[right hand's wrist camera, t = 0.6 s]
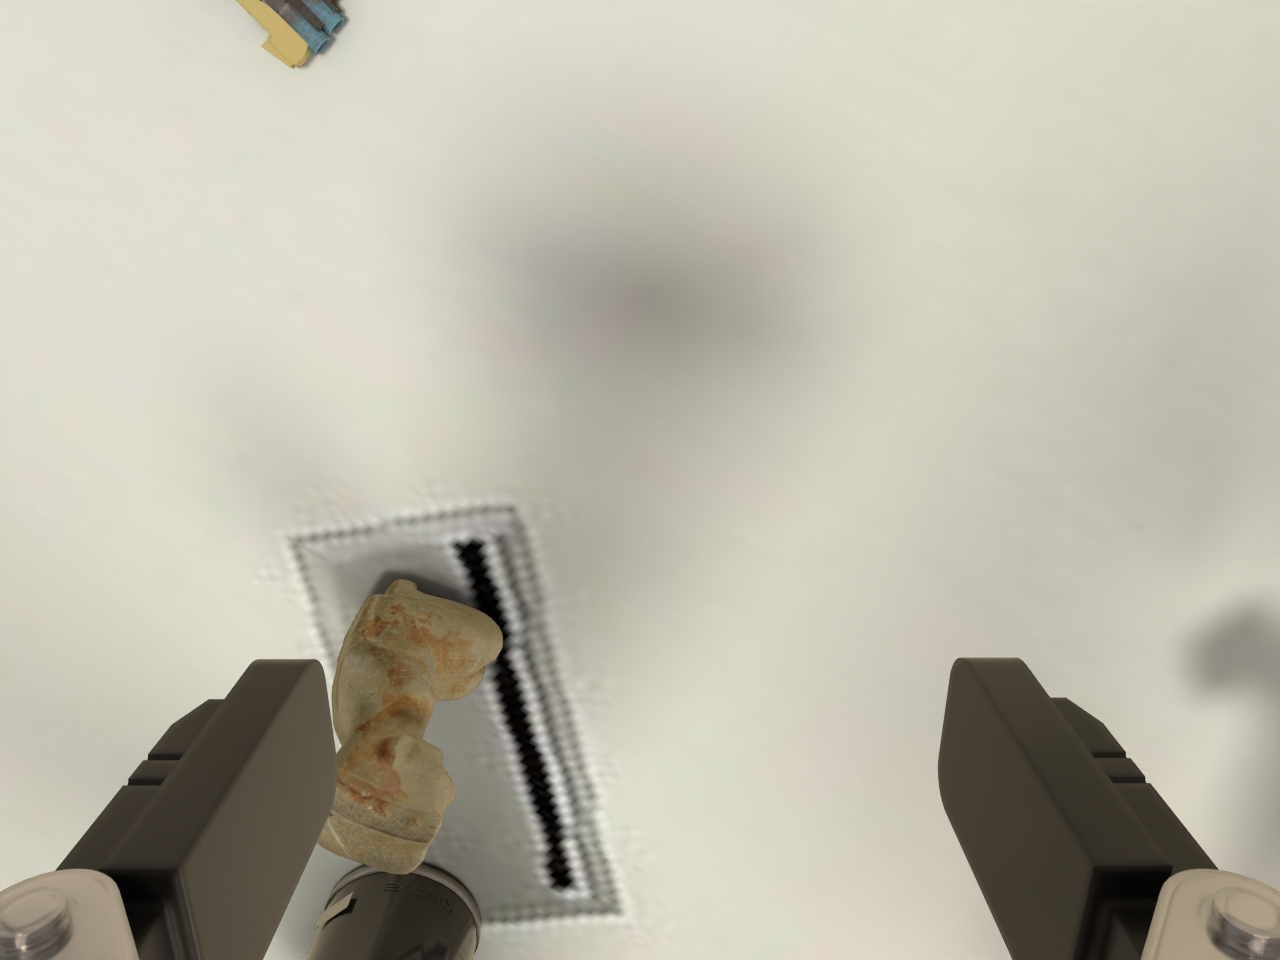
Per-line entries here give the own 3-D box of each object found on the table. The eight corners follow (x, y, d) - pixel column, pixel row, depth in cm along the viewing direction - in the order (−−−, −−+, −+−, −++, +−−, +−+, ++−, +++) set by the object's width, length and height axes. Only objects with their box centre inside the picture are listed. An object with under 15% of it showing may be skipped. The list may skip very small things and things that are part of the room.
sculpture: (467, 692, 49) (396, 917, 35) (347, 628, 48) (224, 836, 34) (521, 613, 48) (469, 817, 34) (398, 544, 46) (290, 728, 32)
